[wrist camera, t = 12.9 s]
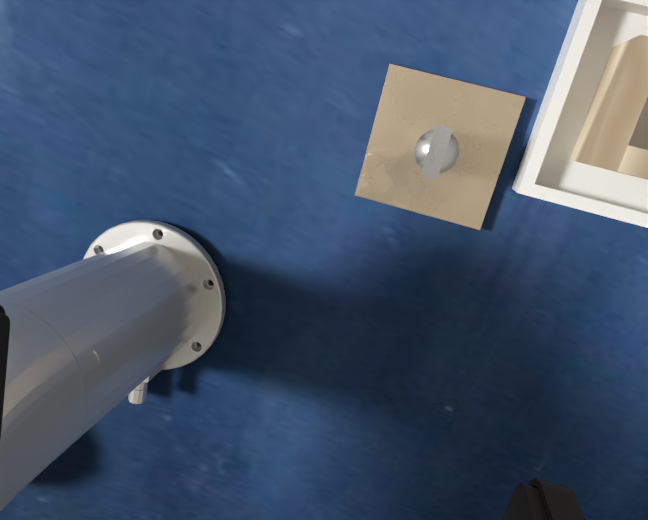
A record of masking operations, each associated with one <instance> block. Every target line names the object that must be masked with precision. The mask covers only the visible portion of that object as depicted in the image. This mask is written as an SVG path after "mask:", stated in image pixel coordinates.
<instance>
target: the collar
mask: <svg viewBox="0 0 648 520" xmlns="http://www.w3.org/2000/svg"><path fill="white" fill-rule="evenodd" d="M647 97H648V36H645V35H639V36H637V37H634V38H632V39H630V40H628V41H625V42H623V43H621V44H619V45H616V46H614V47H612V49H611V52H610V55H609V57H608V60H607V63H606V65H605V68H604V70H603V73H602V76H601V78H600V81H599V84H598V86H597V89H596V92H595V94H594V97H593V100H592V102H591V105H590V108H589V110H588V113H587V116H586V118H585V121H584V124H583V126H582V129H581V132H580V134H579V137H578V140H577V142H576V145H575V148H574V150H573V153H572V156H571V158H570V160H571V161H575V162H579V163H583V164H587V165H591V166H595V167H599V168H603V169H607V170H611V171H615V172H619V173H623V174H627V175H631V176H635V177H639V178H643V179H647V180H648V150H646V149H642V148H637V147H633V146H629V145H628V144H629V142H630V139H631V137H632V134H633V132H634V129H635V127H636V124H637V122H638V119H639V117H640V114H641V112H642V110H643V107H644V105H645V102H646V100H647Z"/></svg>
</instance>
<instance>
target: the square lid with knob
mask: <svg viewBox="0 0 648 520" xmlns="http://www.w3.org/2000/svg"><path fill="white" fill-rule="evenodd" d="M525 98H526V97H524V96H519V95H515V94H511V93H507V92H503V91H499V90H495V89H491V88H487V87H483V86H479V85H474V84H470V83H466V82H462V81H458V80H454V79H450V78H446V77H442V76H438V75H434V74H430V73H425V72H421V71H417V70H413V69H409V68H405V67H401V66H397V65H393V64H390V65H389V68H388V72H387V76H386V80H385V83H384V87H383V91H382V95H381V98H380V102H379V106H378V110H377V113H376V117H375V121H374V125H373V129H372V132H371V136H370V140H369V144H368V147H367V151H366V155H365V159H364V162H363V166H362V170H361V174H360V177H359V181H358V185H357V189H356V192H355V195H356V196H360V197H363V198H367V199H370V200H374V201H378V202H381V203H385V204H388V205H392V206H395V207H399V208H403V209H406V210H410V211H413V212H417V213H420V214H424V215H428V216H431V217H435V218H438V219H442V220H446V221H449V222H453V223H456V224H460V225H463V226H467V227H471V228H474V229H478V230H480V229H481V226H482V223H483V220H484V217H485V214H486V211H487V208H488V206H489V203H490V200H491V197H492V194H493V191H494V188H495V185H496V182H497V179H498V177H499V174H500V171H501V168H502V165H503V162H504V159H505V156H506V153H507V151H508V148H509V145H510V142H511V139H512V136H513V133H514V130H515V127H516V124H517V122H518V119H519V116H520V113H521V110H522V107H523V104H524V101H525Z"/></svg>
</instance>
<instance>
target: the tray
mask: <svg viewBox="0 0 648 520" xmlns="http://www.w3.org/2000/svg"><path fill="white" fill-rule="evenodd" d="M639 35H645V36H648V0H578V3H577V6H576V9H575V11H574V14H573V17H572V20H571V23H570V25H569V28H568V31H567V34H566V37H565V40H564V42H563V45H562V48H561V51H560V54H559V56H558V59H557V62H556V65H555V68H554V71H553V73H552V76H551V79H550V82H549V85H548V87H547V90H546V93H545V96H544V99H543V101H542V104H541V107H540V110H539V113H538V116H537V118H536V121H535V124H534V127H533V130H532V132H531V135H530V138H529V141H528V144H527V147H526V149H525V152H524V155H523V158H522V161H521V163H520V166H519V169H518V172H517V175H516V177H515V180H514V183H513V186H512V189H513V190H514V191H516V192H517V193H520V194H523V195H527V196H531V197H534V198H538V199H542V200H546V201H549V202H553V203H557V204H561V205H564V206H568V207H572V208H576V209H579V210H583V211H587V212H590V213H594V214H598V215H602V216H605V217H609V218H613V219H617V220H620V221H624V222H628V223H632V224H635V225H639V226H643V227H646V228H648V180H647V179H643V178H639V177H635V176H631V175H627V174H623V173H619V172H615V171H611V170H607V169H603V168H599V167H595V166H591V165H587V164H583V163H579V162H575V161H571V160H570V158H571V156H572V153H573V150H574V148H575V145H576V142H577V140H578V137H579V134H580V132H581V129H582V126H583V124H584V121H585V118H586V116H587V113H588V110H589V108H590V105H591V102H592V100H593V97H594V94H595V92H596V89H597V86H598V84H599V81H600V78H601V76H602V73H603V70H604V68H605V65H606V63H607V60H608V57H609V55H610V52H611V49H612V47H614V46H616V45H619V44H621V43H623V42H625V41H628V40H630V39H632V38H634V37H637V36H639ZM628 145H629V146H633V147H637V148H642V149H646V150H648V97H647V100H646V102H645V105H644V107H643V110H642V112H641V114H640V117H639V119H638V122H637V124H636V127H635V129H634V132H633V134H632V137H631V139H630V142H629V144H628Z"/></svg>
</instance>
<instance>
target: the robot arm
mask: <svg viewBox="0 0 648 520" xmlns="http://www.w3.org/2000/svg"><path fill="white" fill-rule="evenodd" d="M161 231H162V233H163V235H162V233H161ZM210 280H211V281H212V282H213V283H214V284H212V283H211V282H210ZM225 312H226V296H225V291H224V285H223V281H222V279H221V276H220V273H219V271H218V268H217V267H216V265H215V263H214V261H213V260H212V258H211V256H210V255H209V254H208V253H207V251H206V250H205V249H204V248H203V247H202V246H201V244H200V243H198V242H197V241H196V240H195V239H194V238H193V237H191V236H190V235H189V234H187V233H186V232H184V231H182V230H180V229H179V228H177V227H175V226H172V225H170V224H167V223H164V222H160V221H154V220H134V221H130V222H126V223H122V224H120V225H117V226H115V227H112V228H110V229H108V230H107V231H105V232H104V233H102V234H101V235H100V236H98V237H97V238H96V240H95V241H94V242H93V243H92V244H91V245H90V247H89V249H88V250H87V252H86V254H85V256H84V258H83V260H81V261H78V262H75V263H73V264H70V265H67V266H65V267H62V268H60V269H57V270H54V271H52V272H49V273H46V274H44V275H41V276H39V277H36V278H33V279H31V280H28V281H25V282H23V283H20V284H18V285H15V286H12V287H10V288H7V289H4V290H2V291H0V511H1V510H2V509H3V508H4V507H5V506H6V505H7V504H8V503H9V502H10V501H11V500H12V499H13V498H14V497H15V496H16V495H17V494H18V493H19V492H20V491H21V490H22V489H23V488H25V487H26V486H27V485H28V484H29V483H30V482H31V481H32V480H33V479H34V478H35V477H36V476H37V475H38V474H40V473H41V472H42V471H43V470H44V469H45V468H46V467H47V466H48V465H49V464H51V463H52V462H53V461H54V460H55V459H56V458H57V457H58V456H60V455H61V454H62V453H63V452H64V451H65V450H66V449H68V448H69V447H70V446H71V445H72V444H73V443H74V442H75V441H76V440H78V439H79V438H80V437H81V436H82V435H83V434H84V433H85V432H87V431H88V430H89V429H90V428H91V427H92V426H93V425H94V424H96V423H97V422H98V421H99V420H100V419H101V418H102V417H104V416H105V415H106V414H107V413H108V412H109V411H110V410H111V409H113V408H114V407H116V406H118V405H119V403H120V401H122V400H123V399H124V398H125V397H126V396H127V395H128V394H129V396H128V400H129V402H131V403H134V404H141V403H143V402H145V400H146V395H147V389H148V385H147V384H148V382H149V381H150V380H151V379H152V378H153V377H154V376H155V375H156V374H157V373H159V372H160V371H161V370H169V369H174V368H180V367H182V366H184V365H187V364H189V363H192V362H193V361H194V360H196V359H197V358H199V357H200V356H201V355H203V354H204V353H205V352H206V351H207V350H208V349H209V348H210V346H211V345H212V344H213V342H214V341H215V340H216V338H217V337H218V335H219V332H220V330H221V328H222V325H223V321H224V317H225ZM199 343H200V344H199ZM502 520H585V518H584V516H583V513H582V511H581V509H580V506H579V504H578V502H577V499H576V497H575V495H574V493H573V492H572V491H571V490H569V489H567V488H564V487H561V486H558V485H555V484H552V483H549V482H546V481H542V480H539V479H536V478H535V479H532V480H531V481H530V482H529V484H528V485H525V484H522V483H521V484H519V485H518V486H517V487H516V489H515V491H514V493H513V496H512V498H511V500H510V503H509V505H508V507H507V510H506V512H505V514H504V517H503V519H502Z"/></svg>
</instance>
